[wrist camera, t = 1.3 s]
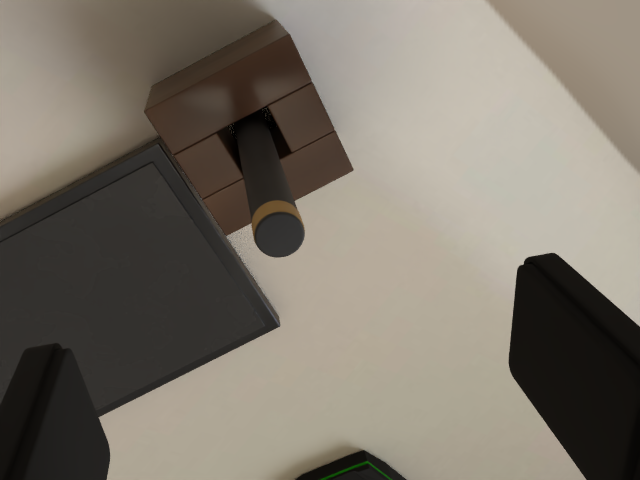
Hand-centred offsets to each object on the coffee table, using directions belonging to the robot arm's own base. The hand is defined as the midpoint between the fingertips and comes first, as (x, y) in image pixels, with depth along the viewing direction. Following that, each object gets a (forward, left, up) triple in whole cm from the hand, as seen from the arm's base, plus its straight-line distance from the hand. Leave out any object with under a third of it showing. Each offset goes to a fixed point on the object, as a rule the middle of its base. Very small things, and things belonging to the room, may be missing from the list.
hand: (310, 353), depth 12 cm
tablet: (+5, -12, -17) cm, 21 cm away
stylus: (0, 0, -17) cm, 17 cm away
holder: (0, 0, -17) cm, 17 cm away
